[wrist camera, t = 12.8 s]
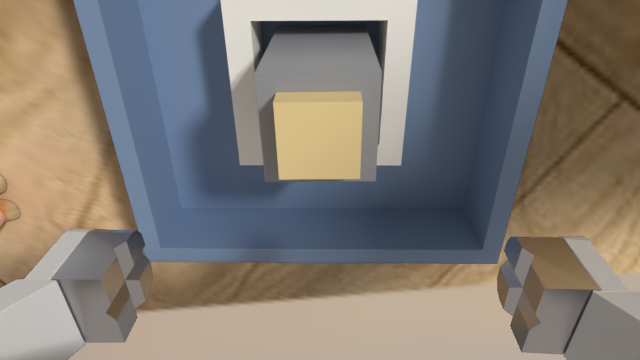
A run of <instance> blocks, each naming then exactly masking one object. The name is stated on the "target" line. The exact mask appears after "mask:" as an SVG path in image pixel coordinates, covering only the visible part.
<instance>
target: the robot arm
mask: <svg viewBox="0 0 640 360" xmlns="http://www.w3.org/2000/svg"><path fill="white" fill-rule="evenodd" d="M144 247H145V242H144V239H143V236H142V233H140V232H138V231H131V230H104V229H94V230H92V229H71V230H68V231H66V232H65V233H64V234H63V235H62V236H61V237H60V239H59V240H58V241H57V242H56V243H55V244H54V245H53V247H52V248H51V249H50V250H49V251H48V252H47V253H46V255H45V256H44V257H43V258H42V259H41V260H40V261H39V263H38V264H37V265H36V266H35V267H34V268H33V270H32V271H31V272H30V273H29V274H28V275H27V276H26V278H25V279H16V280H14V281H13V282H11V283H9V284H7V285H5V286H3V287H1V288H0V360H68V359H69V358H70V357H71V356H72V355H74V354H75V353H76V352H77V351H78V350H80V349H81V348H82V347H83V346H84V345H85V342H125V341H126V339H127V337H128V335H129V333H130V331H131V329H132V327H133V325H134V323H135V321H136V319H137V314H136V311H135V308H137V307H138V306H139V305H141V304H142V303H144V302H145V301H146V299H147V297H148V295H149V293H150V290H151V284H152V279H153V275H152V266H151V262H150V260H149V259H148V258H147V257H146V256H145V255H143V254H142V253H141V252H142V250H143V249H144ZM504 251H505V253H506V256H507V258H508V260H507V261H506V262H505V263H504V264H502V265H501V266H500V269H499V273H498V277H497V290H498V295H499V299H500V302H501V305H502V307H503V309H504V310H505V311H507V312H508V313H509V314H510V315H512V316H513V319H512V322H511V325H510V326H511V329H512V331H513V333H514V336H515V338H516V340H517V343H518V345H519V347H520V350H521V352H527V353H546V354H564V357H565V358H566V359H567V360H640V293H638V292H631V291H628V290H627V288H626V287H625V286H624V285H623V283H622V282H621V280H620V279H619V278H618V277H617V275H616V274H615V273H614V271H613V270H612V269H611V268H610V266H609V265H608V264H607V262H606V261H605V260H604V259H603V257H602V256H601V255H600V253H599V252H598V251H597V250H596V248H595V247H594V246H593V244H592V243H591V242H590V241H589V240H588V239H587V238H585V237H583V236H566V237H510V239H509V240H508V241H507V244H506V247H505V250H504Z"/></svg>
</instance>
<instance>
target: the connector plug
mask: <svg viewBox="0 0 640 360" xmlns="http://www.w3.org/2000/svg"><path fill="white" fill-rule="evenodd" d="M381 79H382V70H381V68H380V65H379V62H378V59H377V56H376V54H375V51H374V48H373V45H372V42H371V39H370V37H369V34H368V31H367V28H366V25H365V24H360V25H295V26H278V27H277V29H276V31H275V33H274V35H273V37H272V39H271V41H270V43H269V45H268V47H267V49H266V51H265V53H264V55H263V57H262V59H261V61H260V63H259V65H258V67H257V69H256V71H255V83H256V93H257V103H258V113H259V124H260V134H261V144H262V154H263V165H264V175H265V182H329V181H376V168H377V150H378V133H379V115H380V97H381Z"/></svg>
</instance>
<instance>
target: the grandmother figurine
mask: <svg viewBox="0 0 640 360" xmlns="http://www.w3.org/2000/svg"><path fill="white" fill-rule="evenodd" d="M6 189H7V184H6V181H5V179H4V178H3V177H2V176H1V175H0V194H1V193H3V192H5V191H6ZM19 217H20V210H19V209H18V207H17V205H16V204H14V203H13V202H11V201H9V200H2V199H0V227H1V226H2V225H3V223H4V222H7V221H12V220H16V219H18V218H19Z"/></svg>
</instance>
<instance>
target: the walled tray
mask: <svg viewBox="0 0 640 360" xmlns="http://www.w3.org/2000/svg"><path fill="white" fill-rule="evenodd" d="M73 1H74V5H75V9H76V12H77V16H78V19H79V23H80V26H81V30H82V33H83V37H84V40H85V44H86V48H87V51H88V55H89V58H90V62H91V65H92V69H93V72H94V76H95V79H96V83H97V87H98V90H99V94H100V97H101V101H102V104H103V108H104V111H105V115H106V118H107V122H108V126H109V129H110V133H111V136H112V140H113V143H114V147H115V150H116V154H117V157H118V161H119V165H120V168H121V172H122V175H123V179H124V182H125V186H126V189H127V193H128V196H129V200H130V204H131V207H132V211H133V214H134V218H135V221H136V225H137V228H138V232H140V233H142V236H143V239H144V242H145V247H144V249H143V250H144V253H145V256H146V257H147V258H148V259H149V260H150V262H275V263H444V264H497V263H498V259H499V255H500V251H501V248H502V244H503V240H504V236H505V233H506V229H507V225H508V222H509V218H510V214H511V210H512V207H513V203H514V199H515V195H516V192H517V188H518V184H519V180H520V177H521V173H522V169H523V166H524V162H525V158H526V154H527V151H528V147H529V143H530V139H531V136H532V132H533V128H534V124H535V121H536V117H537V113H538V110H539V106H540V102H541V98H542V95H543V91H544V87H545V83H546V80H547V76H548V72H549V69H550V65H551V61H552V57H553V54H554V50H555V46H556V42H557V39H558V35H559V31H560V27H561V24H562V20H563V16H564V13H565V9H566V5H567V1H568V0H73ZM360 24H365V25H366V28H367V31H368V34H369V37H370V39H371V42H372V45H373V48H374V51H375V54H376V56H377V59H378V62H379V65H380V68H381V70H382V79H381V97H380V115H379V133H378V150H377V168H376V181H329V182H265V175H264V165H263V154H262V144H261V134H260V124H259V113H258V103H257V93H256V83H255V71H256V69H257V67H258V65H259V63H260V61H261V59H262V57H263V55H264V53H265V51H266V49H267V47H268V45H269V43H270V41H271V39H272V37H273V35H274V33H275V31H276V29H277V27H278V26H295V25H360Z"/></svg>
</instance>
